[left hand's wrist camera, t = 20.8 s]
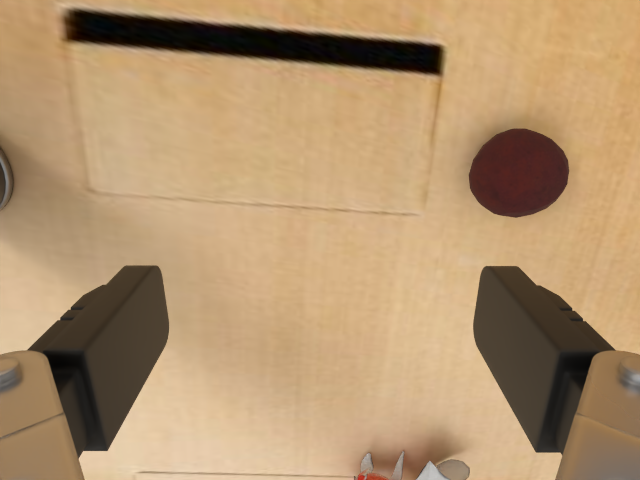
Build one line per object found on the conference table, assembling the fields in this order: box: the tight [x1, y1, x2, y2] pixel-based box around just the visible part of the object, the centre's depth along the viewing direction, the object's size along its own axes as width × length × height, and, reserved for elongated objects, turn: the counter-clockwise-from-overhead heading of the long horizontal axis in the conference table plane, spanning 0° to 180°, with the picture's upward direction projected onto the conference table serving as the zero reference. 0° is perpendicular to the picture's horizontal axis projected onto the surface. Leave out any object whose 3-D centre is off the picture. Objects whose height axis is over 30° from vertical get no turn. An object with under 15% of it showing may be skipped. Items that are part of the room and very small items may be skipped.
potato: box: [469, 129, 569, 217], centre depth 38 cm, size 7×8×7 cm
